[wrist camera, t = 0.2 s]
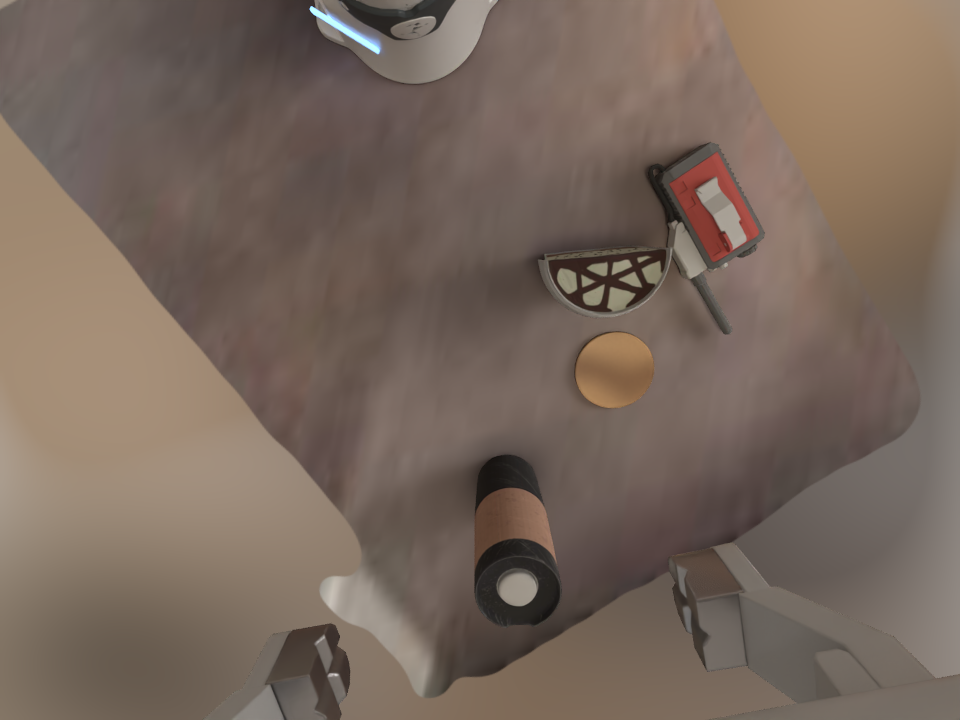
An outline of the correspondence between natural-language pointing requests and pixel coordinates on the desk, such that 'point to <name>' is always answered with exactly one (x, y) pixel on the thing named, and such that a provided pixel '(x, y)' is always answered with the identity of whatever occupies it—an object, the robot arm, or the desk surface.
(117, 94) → the desk surface
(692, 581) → the robot arm
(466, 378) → the desk surface
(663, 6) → the desk surface
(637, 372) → the cork coaster
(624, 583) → the desk surface
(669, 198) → the walkie-talkie
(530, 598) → the travel mug
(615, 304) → the food container
